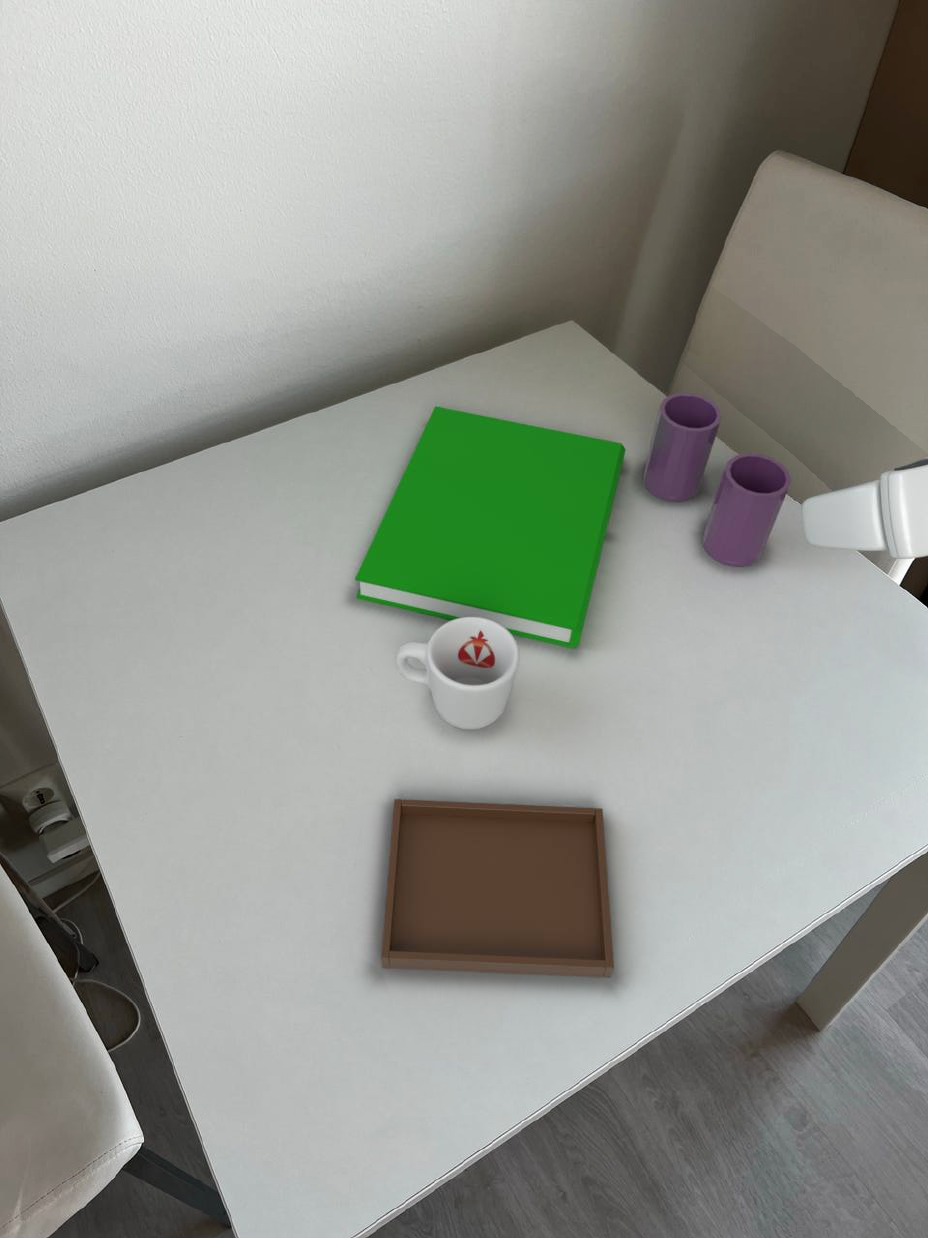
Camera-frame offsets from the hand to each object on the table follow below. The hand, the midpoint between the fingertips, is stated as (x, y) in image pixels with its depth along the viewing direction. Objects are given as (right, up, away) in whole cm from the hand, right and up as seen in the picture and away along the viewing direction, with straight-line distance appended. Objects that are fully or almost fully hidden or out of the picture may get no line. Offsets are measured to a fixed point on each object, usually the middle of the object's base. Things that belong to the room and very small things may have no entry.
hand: (855, 503), depth 83 cm
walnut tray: (-32, -32, -7) cm, 45 cm away
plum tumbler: (-6, -2, +19) cm, 20 cm away
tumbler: (-11, +5, +25) cm, 27 cm away
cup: (-35, -18, +4) cm, 40 cm away
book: (-30, 0, +19) cm, 36 cm away
